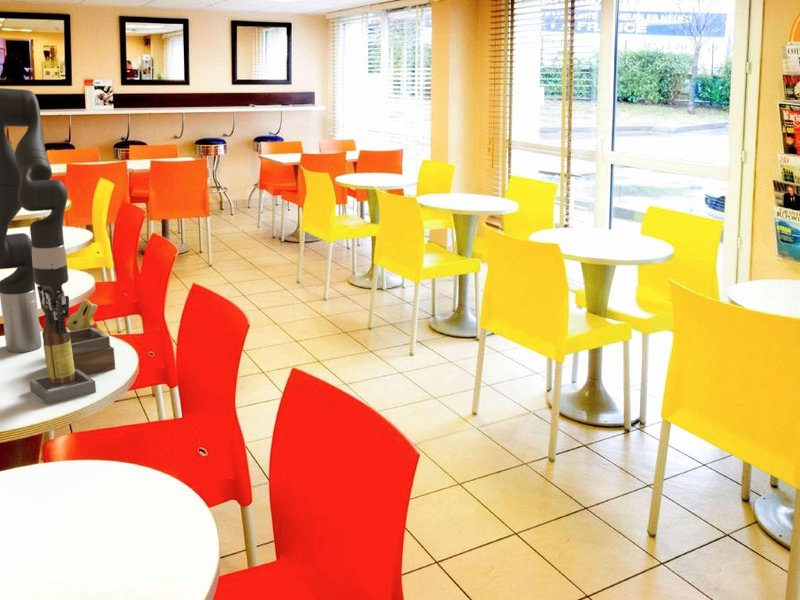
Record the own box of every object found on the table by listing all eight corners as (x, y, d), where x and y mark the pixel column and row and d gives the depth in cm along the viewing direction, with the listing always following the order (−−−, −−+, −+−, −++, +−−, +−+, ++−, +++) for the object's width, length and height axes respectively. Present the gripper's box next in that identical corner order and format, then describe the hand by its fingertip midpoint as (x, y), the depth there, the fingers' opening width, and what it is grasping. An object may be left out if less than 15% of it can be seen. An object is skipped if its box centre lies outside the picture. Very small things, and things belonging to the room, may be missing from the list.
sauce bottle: (80, 376, 196) (73, 302, 190) (67, 386, 190) (59, 309, 184) (55, 374, 196) (47, 300, 191) (42, 384, 191) (33, 308, 185)
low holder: (30, 391, 194) (29, 380, 193) (78, 379, 202) (77, 368, 201) (47, 404, 186) (46, 393, 185) (96, 392, 194) (95, 381, 193)
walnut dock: (48, 366, 209) (44, 335, 207) (95, 355, 218) (92, 325, 216) (67, 380, 201) (63, 348, 198) (115, 368, 209) (112, 337, 207)
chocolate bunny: (70, 347, 224) (65, 298, 220) (110, 345, 227) (105, 296, 223) (66, 355, 218) (61, 304, 214) (107, 353, 221) (103, 303, 216)
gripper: (22, 259, 187) (30, 326, 192) (45, 272, 177) (52, 341, 182) (54, 255, 192) (60, 320, 197) (77, 267, 182) (83, 335, 187)
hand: (56, 330), depth 189 cm, fingers closed on sauce bottle, 5 cm apart
